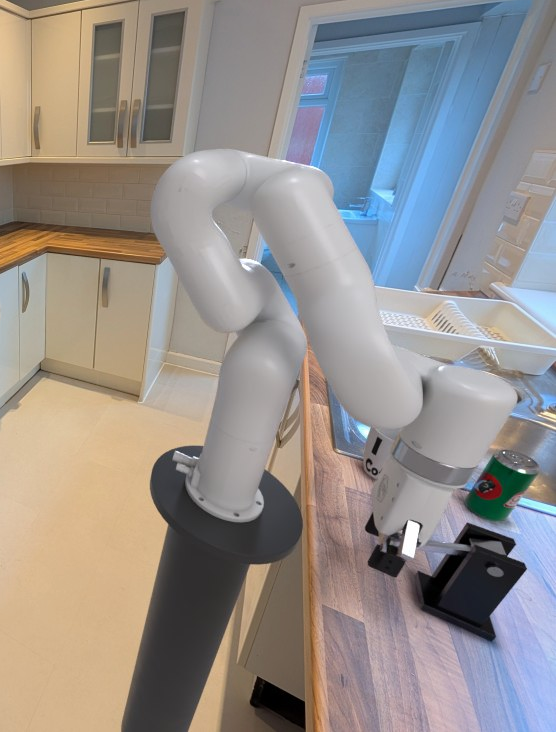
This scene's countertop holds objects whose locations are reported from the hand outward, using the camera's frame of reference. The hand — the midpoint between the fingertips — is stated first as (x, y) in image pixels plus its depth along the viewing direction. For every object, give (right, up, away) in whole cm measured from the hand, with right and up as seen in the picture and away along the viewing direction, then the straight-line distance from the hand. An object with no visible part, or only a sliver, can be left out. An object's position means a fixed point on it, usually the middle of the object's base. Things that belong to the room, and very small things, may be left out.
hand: (379, 551), depth 62 cm
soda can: (+28, 0, +12) cm, 31 cm away
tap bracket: (+7, -6, -3) cm, 10 cm away
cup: (+17, +4, +20) cm, 27 cm away
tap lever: (+4, +2, -4) cm, 6 cm away
